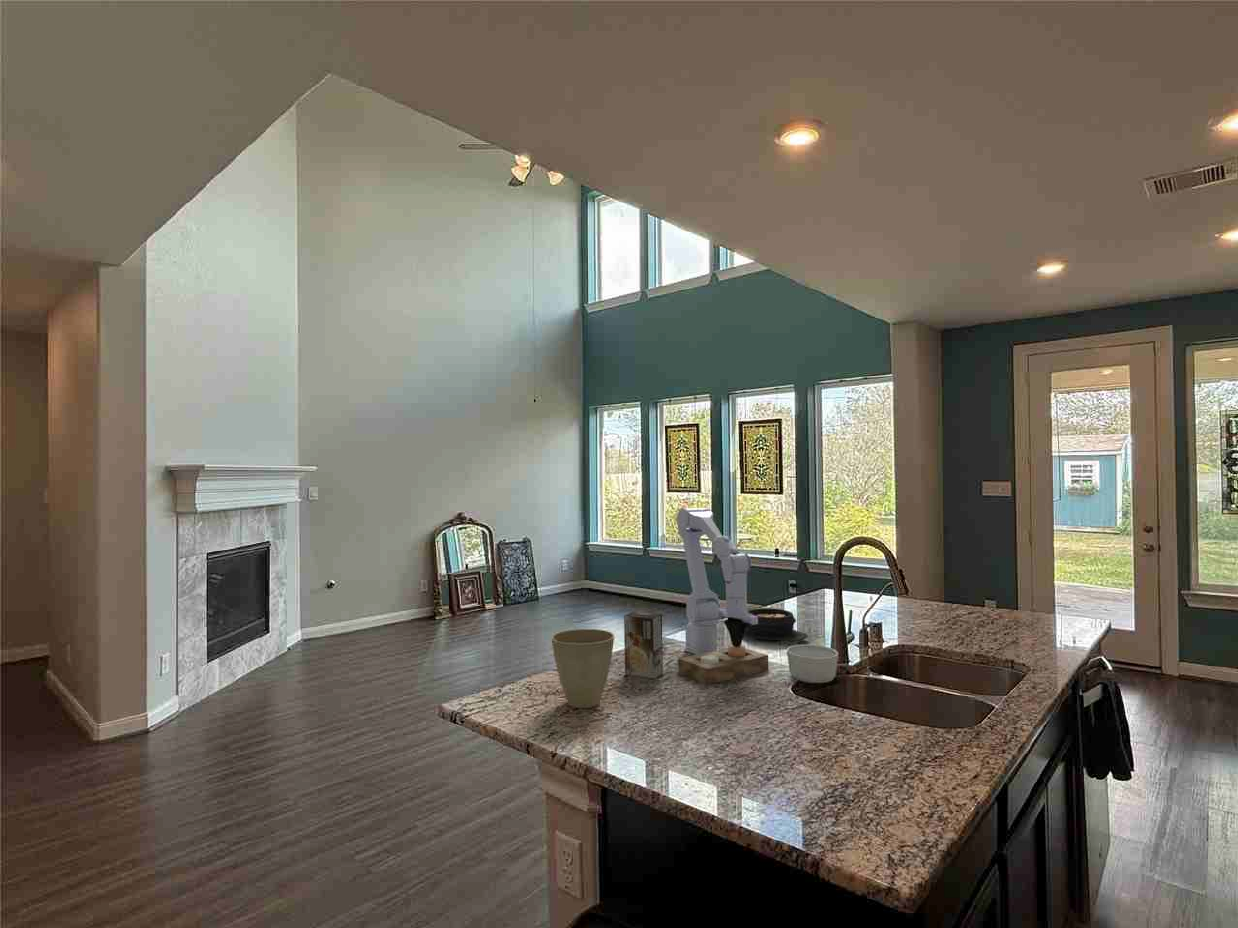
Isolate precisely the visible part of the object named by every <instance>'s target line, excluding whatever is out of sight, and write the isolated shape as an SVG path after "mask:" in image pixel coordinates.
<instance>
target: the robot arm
mask: <svg viewBox="0 0 1238 928" xmlns="http://www.w3.org/2000/svg"><path fill="white" fill-rule="evenodd" d="M675 519H676V524H677V531H678V535H679V537H681V538H682V543H683V549H684V553H685V559H686V564H687V565H686V566H687V569H688V574H689V580H690V586H691V591H692V592H691V593H690V594H689V595H688V596H687V598H686V600H685V604H686V608H685V610H686V611H685V612H686V613H685V614H686V618H687V619H688V621H689V622H688V623H687V625H686V626H685V648H683V651H684V652H687V653H689V654H693V655H696V654H701V653H706V652H711V651H715V650H718V649H717V647H718V646H717V644H718V643H717V624H719V621H720V620H721V619H722V617H725V618H727V619H724V621H723V623H724V624H723V625H725V626H726V629H727V631H728V633H729V637H730V640H731V645H733V646H735V647H738V646H741V645H743V644H742V643H743V639H744V636H745V635H744V633H745V630H746V628H747V627H748V625H749V623H750V624H752V625H754V624H758V617H757V616H754V615H752V614H750V613H747V611H748V609H747V608H748V603H747V602H748V601H747V600H748V597H747V595H748V592H747V590H748V589H747V586H748V585H747V583H748V581H747V577H748V576H747V574H748V573H749V572H750V570H751V566H752V564H751V558H750V556H749V555H748V553H746V552H742V550H739V549H738V548H737V547H736V545H735V544H734V543H733V541H732V540H731V539H730V537H729V536H727V535H722V533H721V532H720V530H719V528H718V526H717V525H716V523H715V522H714V513H713V511H711V509H710V508H709V507H708V506H705V507H681V508H679V509H678V512H677V515H676V518H675ZM703 536H706V537H707V538H708V540H709V541H710V542H711V543H712V544H711V549H712V551H713V552H714V553H715V555H716V556H717V558H718V559H719V560H720V561H721V563H720V567H721V570H722V573H723V579H724V581H725V608H724V607H723V606H722V604H721V603H720V600H719V596H718V594H717V593H715V592H714V591H712V590H711V589H710V586H709V581H708V577H707V576H708V575H707V571H706V570H707V569H706V566H705V561H704V556H703V551H702V546H701V541H700V539H701V537H703Z"/></svg>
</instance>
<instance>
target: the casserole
mask: <svg viewBox="0 0 1238 928" xmlns="http://www.w3.org/2000/svg"><path fill="white" fill-rule="evenodd" d="M747 613H750V614H752V615H754V616H757V617H758V624H754V625H752V624H750V623H749V625H748V627H747V628H746V630H745V633H744V636H745V637H749V638H751V639H753V640H756V641H760V642H765V643H779V642H780V643H781V642H786V643H787V642H790V643H792V642H798V641H799V642H800V641H802V640H805V639H807V638H808V634H807V633H804V632H802V631H798V630H796V629H794V625H795V623H796V622H797V619H796V618H795V617H794V614H793V612H791V611H789V610H784V609H780V608H770V607H768V608H767V607H766V608H754V609H750V610H749V609H748V610H747Z"/></svg>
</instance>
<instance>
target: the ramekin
mask: <svg viewBox="0 0 1238 928" xmlns="http://www.w3.org/2000/svg"><path fill="white" fill-rule="evenodd" d="M786 656H787V661H788V670H789V673H790V675H791V676H792V677H793V678H794V679H795V680H798V681H800V682H803V683H804V682H805V683H811V684H821V683H822V684H824V683H829V682H832V681H833V680H834V679H835V677H836V673H837V665H838V660H839V652H838V651H837V650H836V649H834V648H831V647H828V646H823V645H818V644H796V645H791V646H788V647H787V648H786Z"/></svg>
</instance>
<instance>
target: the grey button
mask: <svg viewBox="0 0 1238 928" xmlns="http://www.w3.org/2000/svg"><path fill="white" fill-rule="evenodd" d="M701 662H704V663H707V664H713V663H717V662H719V658H718V657H717V656H711V655H707V656H702V657H701Z"/></svg>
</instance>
